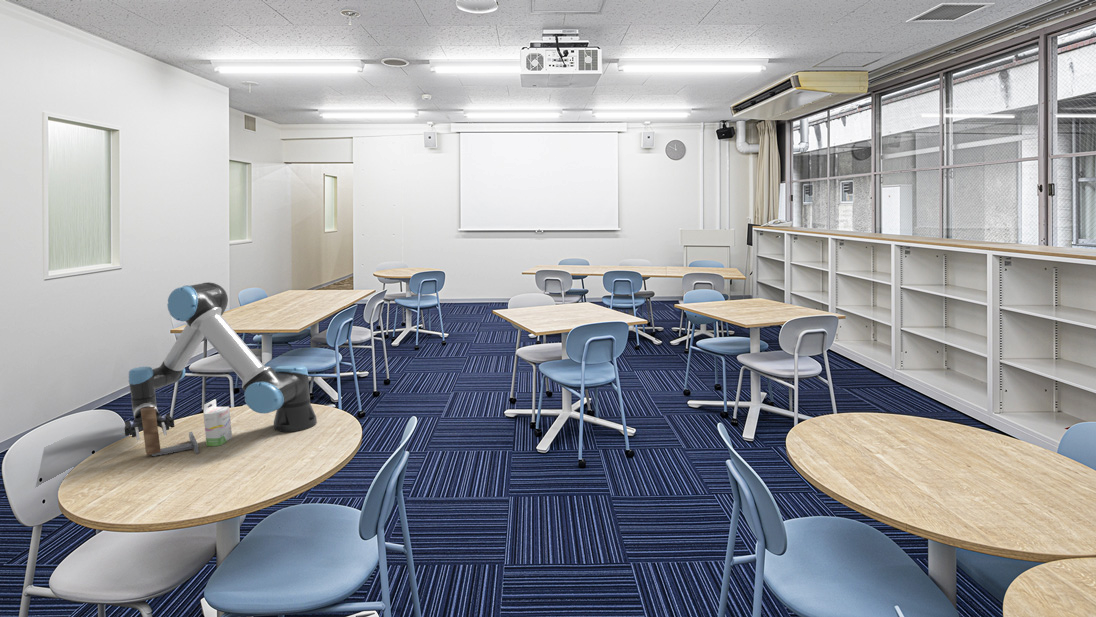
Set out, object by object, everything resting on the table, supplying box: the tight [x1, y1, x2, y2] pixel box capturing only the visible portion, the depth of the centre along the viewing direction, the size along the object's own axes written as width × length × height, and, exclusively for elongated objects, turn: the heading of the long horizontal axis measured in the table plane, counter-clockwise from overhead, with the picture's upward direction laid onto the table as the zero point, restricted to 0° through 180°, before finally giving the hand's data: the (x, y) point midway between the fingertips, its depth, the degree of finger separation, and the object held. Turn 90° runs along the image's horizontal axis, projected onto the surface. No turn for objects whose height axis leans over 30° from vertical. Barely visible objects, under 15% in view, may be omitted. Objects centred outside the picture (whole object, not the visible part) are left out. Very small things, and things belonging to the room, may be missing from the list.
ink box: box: [203, 398, 233, 447], centre depth 220 cm, size 9×5×15 cm, turn 179°
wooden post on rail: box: [141, 406, 200, 457], centre depth 211 cm, size 14×16×16 cm
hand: (151, 433), depth 204 cm, fingers open, 7 cm apart
